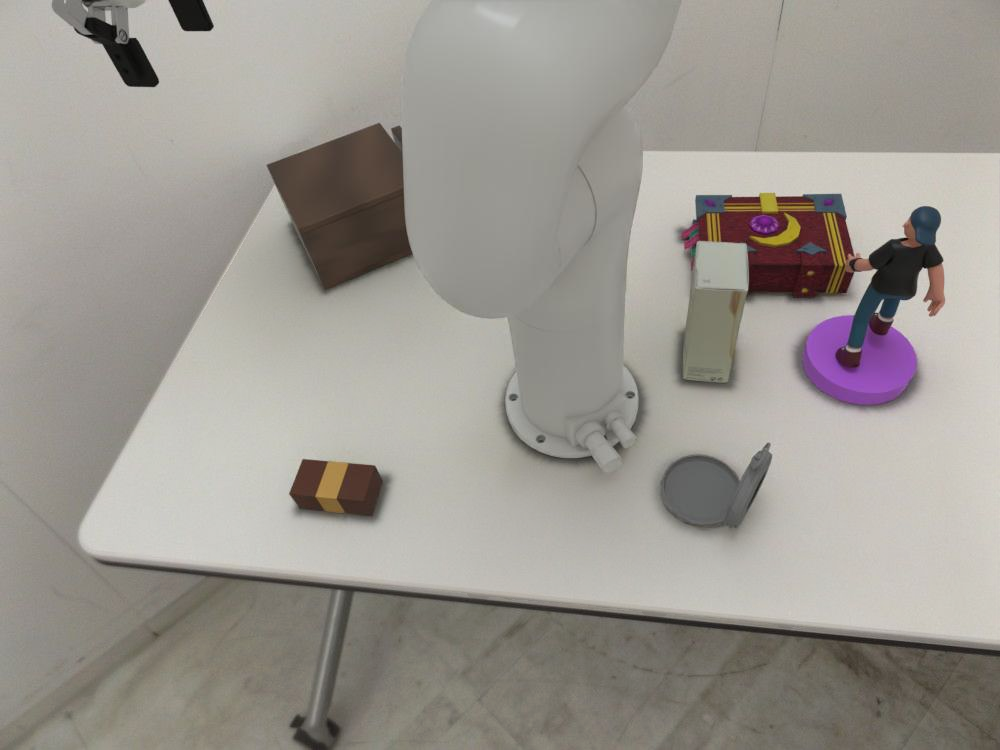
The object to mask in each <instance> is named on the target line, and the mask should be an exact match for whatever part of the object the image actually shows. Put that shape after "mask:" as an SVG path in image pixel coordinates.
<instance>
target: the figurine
mask: <svg viewBox="0 0 1000 750" xmlns="http://www.w3.org/2000/svg"><path fill="white" fill-rule="evenodd" d="M941 224H942V216H941V213H940V211H939V210H938V209H937V208H936V207H933V206H930V205H922V206H919V207H917V208H915V209H913V210H912V212H911V214H910V216H909V217H908V219H907V220H906V221H905V222H904V224H903V225H902V226H901V227H902V228H904V229H903V234H904V236H905V237H900V238H891V239H889V240H887V241H886V242H885V243H883V244H882V245H881V246H880V247H878V248H876V249H875V250H874V251H872V252H871V253H870V254H869V255H868V258H863V257H861V254H860V252H856V253H855V255H854V256H855V257H853V256H851V254H848V260H847V261H846V265H845V266H846V272H850V273H853V272H854V273H855V272H856V273H861V272H870V271H873V270H876V271H875V273H874V274H873V275H872V277H871V279H870V283H869V284H868V286H867V288H866V289H865V292H864V294H863V295H862V297H861V299H860V301H859V303H858V306H857V308H856V311H855V313H854V315H853V314H851V315H850V314H849V315H839V316H834V317H830V318H828V319H827V318H826V319H825V320H823V321H821V322H820V323H818V324H817V325H816V326H815V327H814V328H812V329H811V332H810V333H809V335H808V337H807V339H806V342H805V345H804V348H803V351H802V355H801V363H802V367H803V370H804V372H805V374H806V376H807V378H808V379H809V380H810V381H811V383H812V384H813V385H814V386H815V387H816V388H817V389H819V390H820V391H821V392H823V393H825V394H826V395H828V396H829V397H831V398H834V399H836V400H838V401H841V402H843V403H848V404H851V405H859V406H875V405H880V404H881V405H882V404H885V403H888V402H891V401H893V400H895V399H896V398H898V397H900V396H901V394H903V392H904V391H906V389H907V388H908V385H909V384H910V382H911V380H912V378H913V376H914V375H915V373H916V370H917V365H918V358H917V354H916V352H915V349H914V346H913V345H912V343H911V342H910V340H908V338H907V337H905V335H904V334H903V333H902V332H900V331H899V330H898V329H896V328H895V327H893V323H894V317H895V316H896V315H897V311H898V308H899V305H900V303H901V301H909V300H911V299H913V298H914V297H916V296H917V292H918V280H919V275H920V272H921V271H922V270H923V269H926V270H927V276H928V281H929V286H928V289H927V291H926V295H925V296H924V298H923V300H922V301H923V303H927V302H928V301H931V302H930V304H929V305H928V307H927V309H926V310H927V311H928V312H929V313H928V317H930V318H931V317H935V316H937V315H938V313H939V312H940V311H941V309H942V308H943V307H944V306H945V304H946V297H945V270H944V265H943V262H944V257H943V256H942V254H941V253H940V251H939V249H938V246H937V245H936V243H937V232H938V230H939V228H940V226H941ZM881 303H882V304H881ZM880 304H881V306H880ZM879 306H880V309H879V312H876V311H877V310H878V308H879Z"/></svg>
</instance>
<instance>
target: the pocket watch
mask: <svg viewBox="0 0 1000 750" xmlns="http://www.w3.org/2000/svg"><path fill="white" fill-rule="evenodd" d="M770 448H771V442H766V444H765V445H764V446H763V447H762V448H761V450H758V451H757V452H756V453H755V454H753V456H752V457H751V460H750V461H749V463H748V465H747V467H746V469H745V471H744V472H743V474H742V476H741V478H739V476H738V474H737V472H736V471H735V470H734V469H732V468H731V467H730V465H729V464H727V463H726V462H724V461H722V460H721V459H718V458H717V457H714V456H711V455H707V454H699V453H697V454H688V455H685V456H681V457H679V458H678V459H676V460H674V461H672V462H671V463H670V464H669V465H668V467H666V469H665V471H664V472H663V475H662V478H661V481H660V489H661V490H660V491H661V496H662V500H663V502H664V504H665V505H666V507H667V509H668V510H669V511H670V512H671V514H673V515H674V516H675V517H677V518H678V519H680V520H681V521H682V522H685V523H686V524H689V525H692V526H695V527H701V528H702V527H704V528H706V527H707V528H709V527H711V528H712V527H716V526H720V525H722V524H725V526H727V527H729V528H731V529H738V528H739V527H740V526H741V525H742V524H743V522H744V520H745V518H746V516H747V515H748V512H749V511H750V509H751V507H752V505H753V503H754V501H755V499H756V498H757V495H758V492H759V491H760V488H761V487H762V485H763V483H764V481H765V478H766V476H767V474H768V471H769V469H770V466H771V463H772V459H773V454H772V453H771V452H770V451H769V450H770Z"/></svg>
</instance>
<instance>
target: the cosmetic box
mask: <svg viewBox="0 0 1000 750" xmlns="http://www.w3.org/2000/svg"><path fill="white" fill-rule="evenodd" d="M748 283H749V271H748V254H747V244H745V243H727V242H711V241H698V242H697V245H696V252H695V260H694V267H693V268H692V276H691V283H690V290H689V291H690V292H689V300H688V307H687V314H686V322H685V330H684V335H683V336H684V337H683V350H682V353H683V354H682V379H683V380H685V381H687V380H688V381H697V382H707V383H720V384H721V383H722V384H727V383H728V382H729V378H730V374H731V369H732V366H733V365H732V364H733V360H734V355H735V352H736V351H735V350H736V346H737V342H738V337H739V332H740V328H741V323H742V318H743V313H744V310H745V304H746V299H747V296H748V294H747V292H748ZM748 293H749V292H748Z"/></svg>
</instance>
